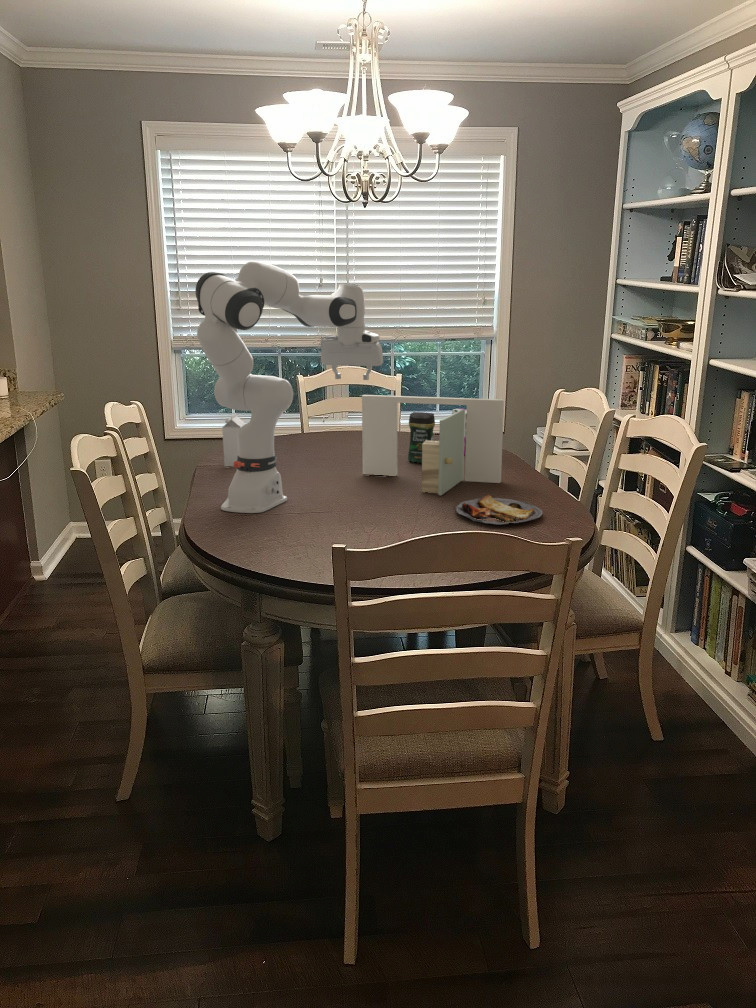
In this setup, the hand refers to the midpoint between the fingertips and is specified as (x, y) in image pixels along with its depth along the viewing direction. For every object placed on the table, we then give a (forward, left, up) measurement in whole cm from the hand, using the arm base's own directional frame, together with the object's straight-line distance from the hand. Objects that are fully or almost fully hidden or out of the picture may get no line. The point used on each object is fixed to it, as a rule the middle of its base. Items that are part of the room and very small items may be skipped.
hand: (352, 379), depth 262 cm
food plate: (-25, -51, -36) cm, 67 cm away
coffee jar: (+37, -16, -35) cm, 54 cm away
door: (+2, -34, -35) cm, 48 cm away
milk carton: (+15, +49, -35) cm, 62 cm away
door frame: (+13, -24, -35) cm, 44 cm away
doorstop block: (-2, -27, -35) cm, 44 cm away
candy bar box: (+57, -29, -35) cm, 73 cm away
